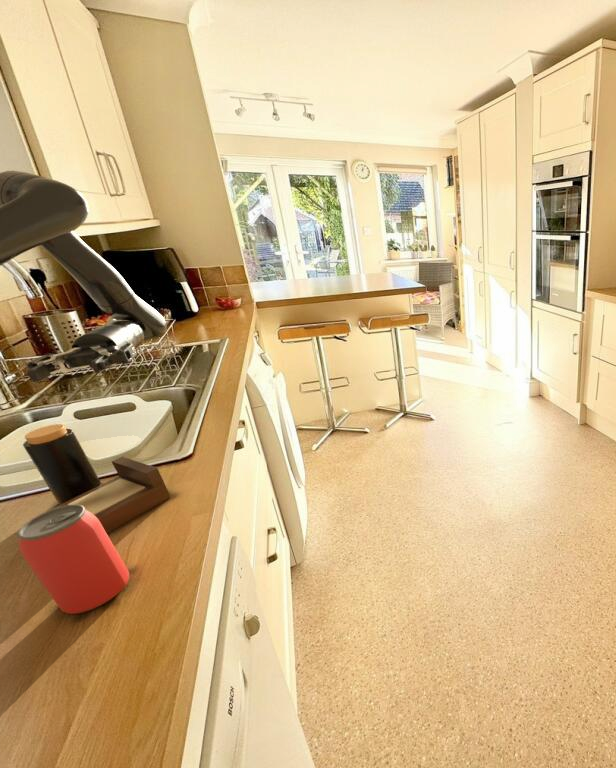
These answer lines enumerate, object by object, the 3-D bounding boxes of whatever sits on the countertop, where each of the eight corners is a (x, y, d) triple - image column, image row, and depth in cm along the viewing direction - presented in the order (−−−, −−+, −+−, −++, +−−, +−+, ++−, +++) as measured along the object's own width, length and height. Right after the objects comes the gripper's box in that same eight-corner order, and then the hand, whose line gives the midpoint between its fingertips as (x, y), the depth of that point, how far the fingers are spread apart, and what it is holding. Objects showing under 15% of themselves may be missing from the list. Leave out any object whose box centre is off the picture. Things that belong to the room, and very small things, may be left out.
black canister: (53, 503, 70) (11, 436, 64) (94, 484, 74) (58, 420, 69) (70, 511, 68) (29, 443, 62) (111, 491, 72) (76, 425, 67)
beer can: (135, 590, 53) (93, 517, 48) (64, 627, 48) (9, 551, 43) (127, 563, 57) (87, 494, 52) (60, 596, 52) (10, 523, 48)
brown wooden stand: (55, 526, 64) (36, 495, 62) (136, 484, 74) (122, 456, 71) (90, 543, 61) (71, 511, 58) (171, 497, 70) (157, 467, 68)
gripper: (54, 333, 82) (-1, 359, 69) (141, 323, 87) (105, 345, 73) (72, 368, 86) (23, 399, 72) (155, 356, 90) (123, 383, 76)
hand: (64, 372), depth 73 cm, fingers open, 8 cm apart
